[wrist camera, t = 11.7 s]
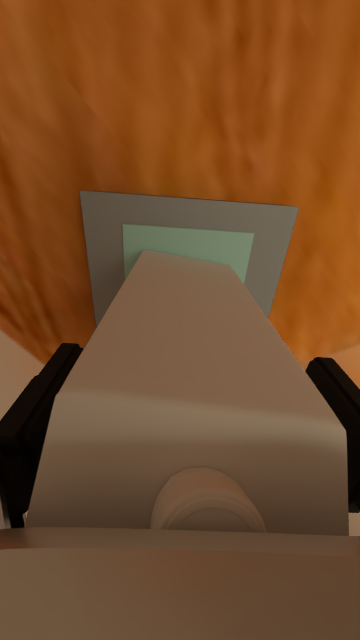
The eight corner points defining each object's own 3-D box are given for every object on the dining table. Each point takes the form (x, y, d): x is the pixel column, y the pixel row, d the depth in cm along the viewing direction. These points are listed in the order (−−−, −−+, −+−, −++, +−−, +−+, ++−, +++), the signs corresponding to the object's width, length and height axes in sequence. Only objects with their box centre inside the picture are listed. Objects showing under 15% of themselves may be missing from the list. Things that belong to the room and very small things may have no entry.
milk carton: (210, 337, 22) (302, 760, 6) (135, 326, 22) (-5, 765, 5) (230, 264, 19) (598, 772, 2) (143, 248, 18) (-191, 790, 2)
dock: (92, 190, 19) (53, 190, 13) (283, 204, 20) (329, 210, 14) (108, 349, 27) (87, 395, 21) (245, 356, 28) (264, 403, 21)
